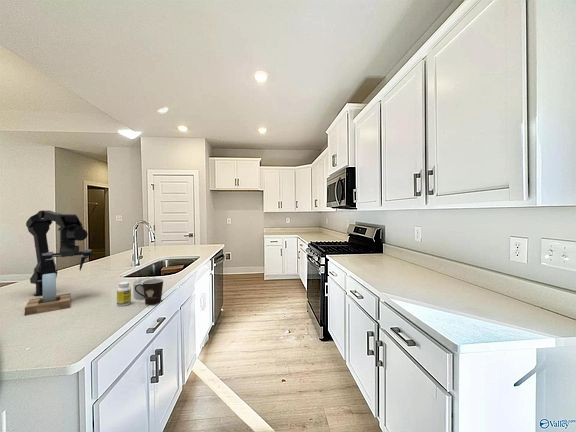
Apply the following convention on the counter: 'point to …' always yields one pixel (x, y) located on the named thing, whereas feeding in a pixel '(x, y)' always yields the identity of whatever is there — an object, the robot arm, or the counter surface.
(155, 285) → the coffee mug
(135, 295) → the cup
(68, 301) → the holder
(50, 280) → the peg
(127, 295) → the supplement bottle
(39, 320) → the counter surface
